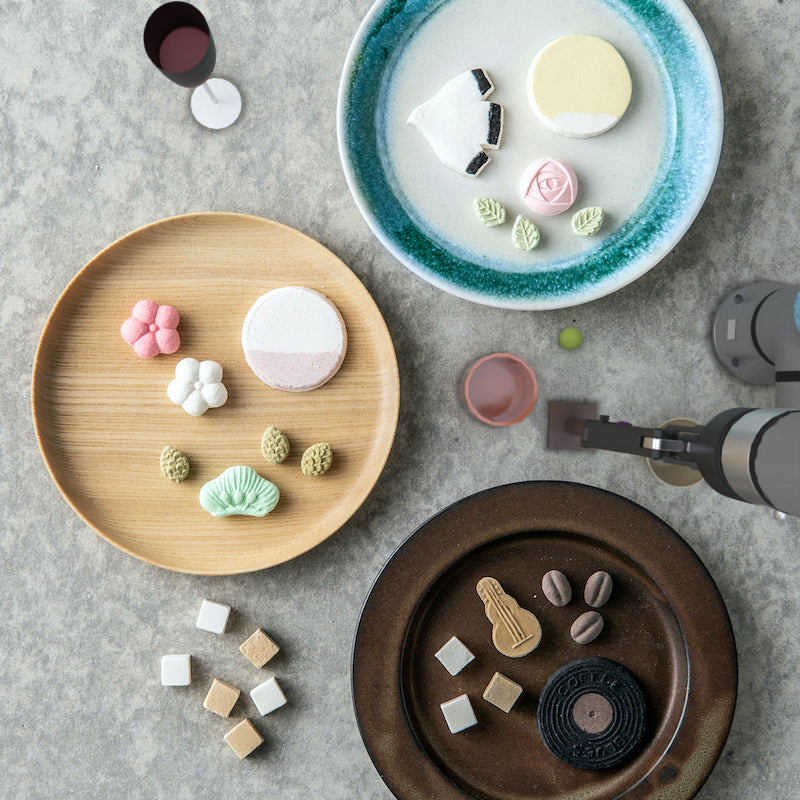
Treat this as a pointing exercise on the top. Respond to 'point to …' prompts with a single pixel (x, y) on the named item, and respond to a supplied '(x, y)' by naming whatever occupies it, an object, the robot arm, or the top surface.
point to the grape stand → (568, 424)
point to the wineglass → (191, 61)
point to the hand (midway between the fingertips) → (652, 438)
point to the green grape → (570, 338)
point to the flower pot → (671, 472)
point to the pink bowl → (499, 389)
